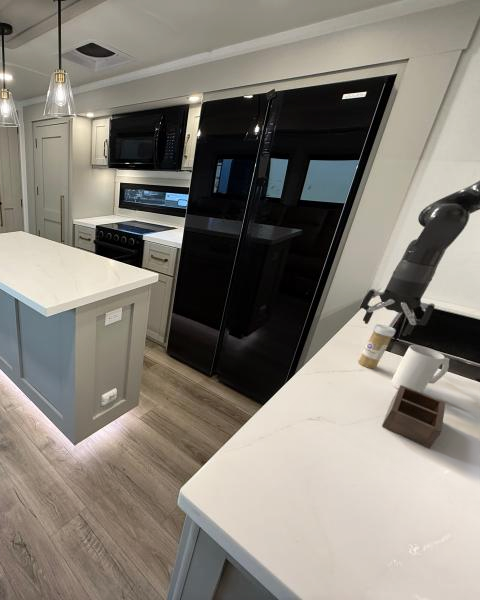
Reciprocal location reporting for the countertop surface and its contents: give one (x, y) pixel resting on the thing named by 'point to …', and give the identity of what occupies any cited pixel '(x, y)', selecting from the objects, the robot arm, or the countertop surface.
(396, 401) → the rack
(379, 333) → the sprinkles bottle
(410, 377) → the mug
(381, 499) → the countertop surface
